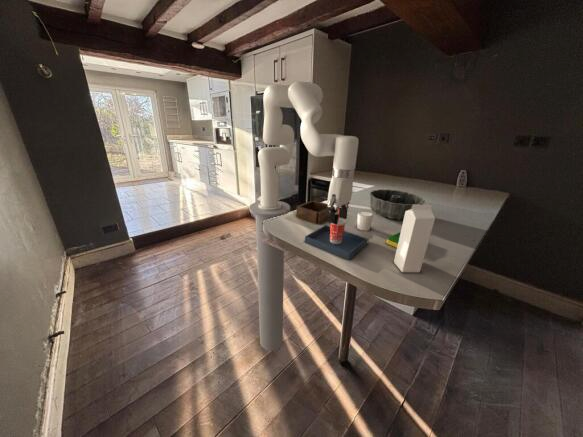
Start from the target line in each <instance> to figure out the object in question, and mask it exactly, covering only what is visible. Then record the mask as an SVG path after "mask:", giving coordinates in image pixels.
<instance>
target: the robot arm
mask: <svg viewBox="0 0 583 437" xmlns="http://www.w3.org/2000/svg"><path fill="white" fill-rule="evenodd" d="M262 97H263V99H262V100H263V108H264V109H263V110H264V116H263V117H264V118H263V129H262V141H263V143H264V144H265V145H268V146H267V147H262V148H261V149H259V151H258V153H257V161H258V165H259V173H260V174H259V175H260V196H258V198H257V200H256V201H257V202H259V201H260V204H259V205H258V206H259V208H260V209H262V210H268V211H272V210H278V209H280V208H281V204H280V203H279V201H280V200H279V199H280V197H279V196H280V195H279V194H280V190H279V189H280V188H279V187H280V176H279V175H280V174H279V173H278V172H279V171H277V169H276V167H280V166H287V165H288V164H290V162H291V161H292V160H291V159H292V157H293V149H294V145H295V144H294V143H295V132H294V129H293V127H292V126H291V125H289V124H283V119H284V117H283V116H284V114H283V111H282V109H281V108H290V109H294V110H295V112H296V114H297V115H298V117H299V118H300V121H301V123H300V129H299V130H300V138H301V141H302V143H303V144H304V146H305V148H306V150H307V152H308V153H309V154H311V155H312V156H313V157H317V158H320V157H333V163H332V164H333V165H332V173H331V174H332V175H331V180H330V183H329V188H328V194H327V202H326V204H328V209H329V211H330V219H329V220H328V221H329V222H328V223H329V224H330V223H333V224H338V215H339V218H343V219H345V220H347V219H348V209H349V205H350V203H351V200H352V195H353V185H354V184H353V183H354V179H355V172H356V165H357V157H358V151H359V150H358V149H359V142H360V141H359V138H358V137H357V136H354V135H342V134H338V133H319V132H318V130H317V129H316V127H315V125H314V124H316V123H318V121H319V120H320V119H321V118H322V116H323V108H322V106H321V103H322V102H323V98H324V93H323V90H322V87H320V86H319V85H318V84H317V83H313V82H306V81H295V82H292V83H291V84H290V85H287V84H280V83H279V84H278V83H274V84H273V83H272V84H269V85H268V86H267V87H266V88H265V90H264V91H263V96H262ZM334 207H335V208H334ZM339 208H340V214H338V212H339Z"/></svg>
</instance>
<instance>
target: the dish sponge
mask: <svg viewBox="0 0 583 437" xmlns="http://www.w3.org/2000/svg"><path fill="white" fill-rule="evenodd" d="M400 233H401V231H400V232H397V233H395V234H393V235H391V236H389V237H387V239H386V244H387V245H389V246H391V247H394V248H396V249H397V246H398V242H399V237H400Z"/></svg>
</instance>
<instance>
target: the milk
mask: <svg viewBox="0 0 583 437" xmlns="http://www.w3.org/2000/svg"><path fill="white" fill-rule="evenodd" d="M432 207H433V205H432V204H423V205H420V204H414V205H413V206H412V209H411V210H407V211H405V216H404V219H402V220H403V221H402V224H401V230H400V232H401V233H400V237H399V242H398V246H397V248H396V249H395V250H396V251H395V256H394V259H393V263H394V264H395V265H396V266H397V268H398V269H399V271H400V272H402V273H420V272H421V270H422V266H423V262H424V259H425V257H426V256H425V255H426V252H427V249H428V246H429V242H430V239H431V235H432V231H433V228H434V225H435V220H436V217H435V215H434V212H433V211H432Z"/></svg>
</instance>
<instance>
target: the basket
mask: <svg viewBox="0 0 583 437" xmlns="http://www.w3.org/2000/svg"><path fill="white" fill-rule="evenodd" d="M334 208H335V209H336V207H334ZM295 214H296V216H295V217H297V218H298V219H301V220H303V221H307V222H309V223H313V224H317V225H321V224H324V223H325V222H327V221H329V220H330V211H329V209H328V203H325V202H320V201H317V200H309V201H305V202H304V203H301V204H298V205H296V213H295Z"/></svg>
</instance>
